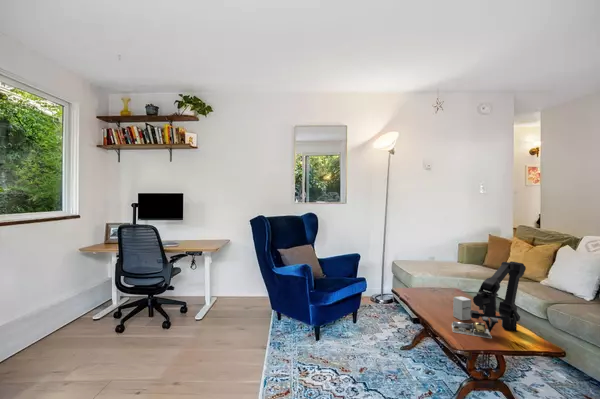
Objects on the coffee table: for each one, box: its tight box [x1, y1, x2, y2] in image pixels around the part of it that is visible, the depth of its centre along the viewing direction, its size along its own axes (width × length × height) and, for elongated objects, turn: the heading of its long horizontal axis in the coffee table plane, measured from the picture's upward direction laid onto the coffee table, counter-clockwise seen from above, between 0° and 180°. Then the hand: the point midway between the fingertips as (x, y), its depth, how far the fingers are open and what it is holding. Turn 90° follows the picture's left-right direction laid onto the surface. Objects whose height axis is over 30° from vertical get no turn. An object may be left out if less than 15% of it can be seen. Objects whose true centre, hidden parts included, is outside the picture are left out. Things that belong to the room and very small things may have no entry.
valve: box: [474, 320, 486, 333], centre depth 172 cm, size 5×5×6 cm
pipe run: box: [451, 320, 493, 339], centre depth 173 cm, size 19×12×4 cm, turn 67°
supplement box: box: [452, 296, 472, 321], centre depth 193 cm, size 7×7×13 cm
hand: (489, 331), depth 170 cm, fingers closed
